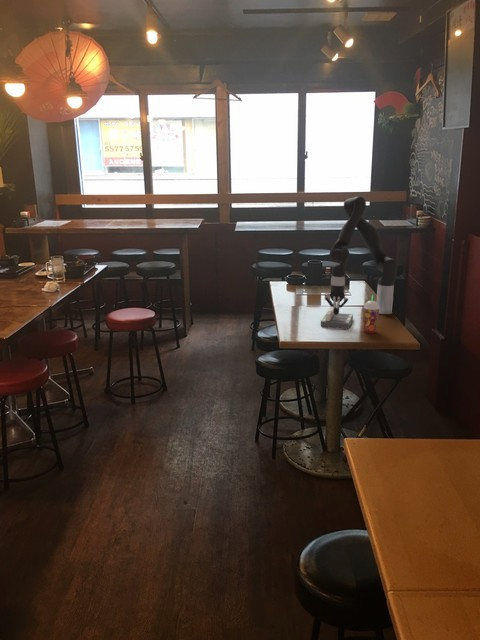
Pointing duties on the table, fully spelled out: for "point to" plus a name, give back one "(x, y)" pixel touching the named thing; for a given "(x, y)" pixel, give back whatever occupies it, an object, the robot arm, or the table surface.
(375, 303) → the smoothie
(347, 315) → the breaker panel
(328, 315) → the breaker near
